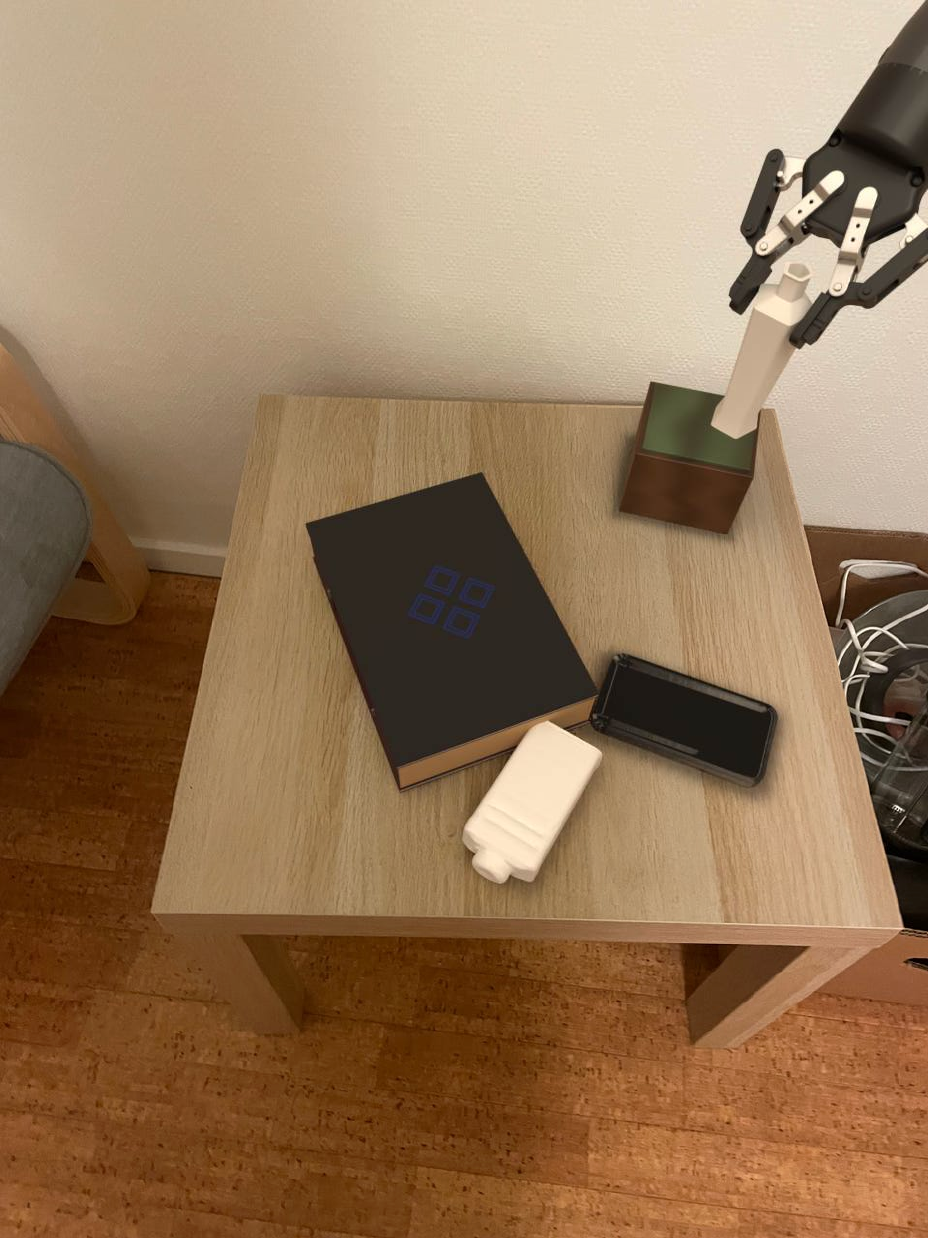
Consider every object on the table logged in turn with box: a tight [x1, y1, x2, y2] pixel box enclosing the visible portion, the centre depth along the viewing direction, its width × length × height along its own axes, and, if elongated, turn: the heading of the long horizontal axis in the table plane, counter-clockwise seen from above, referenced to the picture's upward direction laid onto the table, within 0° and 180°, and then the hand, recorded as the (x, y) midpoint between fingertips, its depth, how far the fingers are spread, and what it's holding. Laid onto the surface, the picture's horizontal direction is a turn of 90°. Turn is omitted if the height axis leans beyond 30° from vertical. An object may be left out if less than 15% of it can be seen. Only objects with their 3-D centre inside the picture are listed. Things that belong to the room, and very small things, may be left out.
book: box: [304, 471, 600, 794], centre depth 75 cm, size 17×25×7 cm
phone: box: [590, 652, 779, 788], centre depth 73 cm, size 8×1×15 cm
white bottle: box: [461, 721, 603, 885], centre depth 67 cm, size 6×13×4 cm, turn 148°
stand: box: [619, 380, 762, 535], centre depth 84 cm, size 11×10×9 cm
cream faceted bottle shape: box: [711, 260, 815, 439], centre depth 65 cm, size 5×4×15 cm
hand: (764, 326), depth 62 cm, fingers closed on cream faceted bottle shape, 4 cm apart
